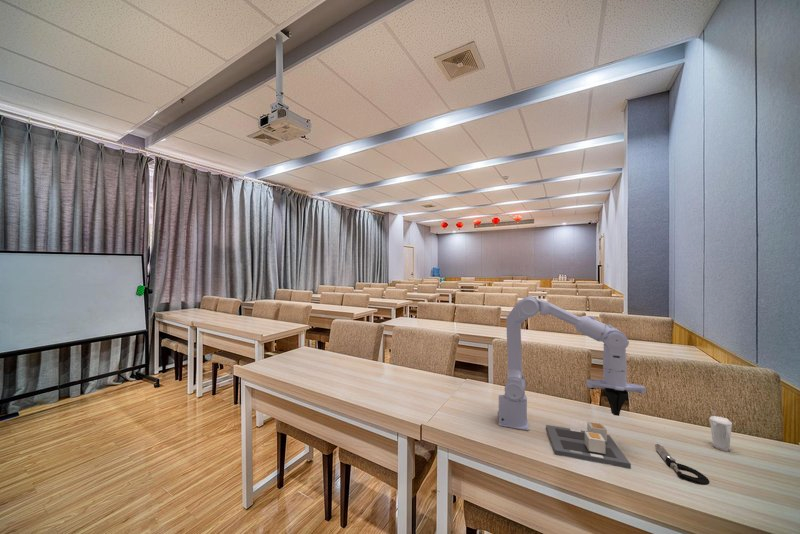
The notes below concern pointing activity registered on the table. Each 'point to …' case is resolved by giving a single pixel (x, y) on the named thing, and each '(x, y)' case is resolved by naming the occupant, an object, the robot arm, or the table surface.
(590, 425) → the white orange block
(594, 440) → the white orange cube
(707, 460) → the table surface
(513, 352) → the robot arm
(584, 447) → the switch plate
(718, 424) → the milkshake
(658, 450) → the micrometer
